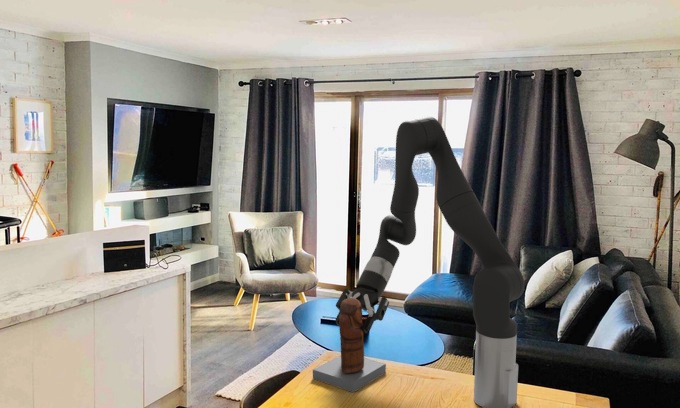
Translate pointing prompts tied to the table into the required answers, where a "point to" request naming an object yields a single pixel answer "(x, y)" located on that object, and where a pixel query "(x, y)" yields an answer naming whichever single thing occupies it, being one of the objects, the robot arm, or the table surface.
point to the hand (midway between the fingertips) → (350, 328)
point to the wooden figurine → (351, 336)
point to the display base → (348, 374)
